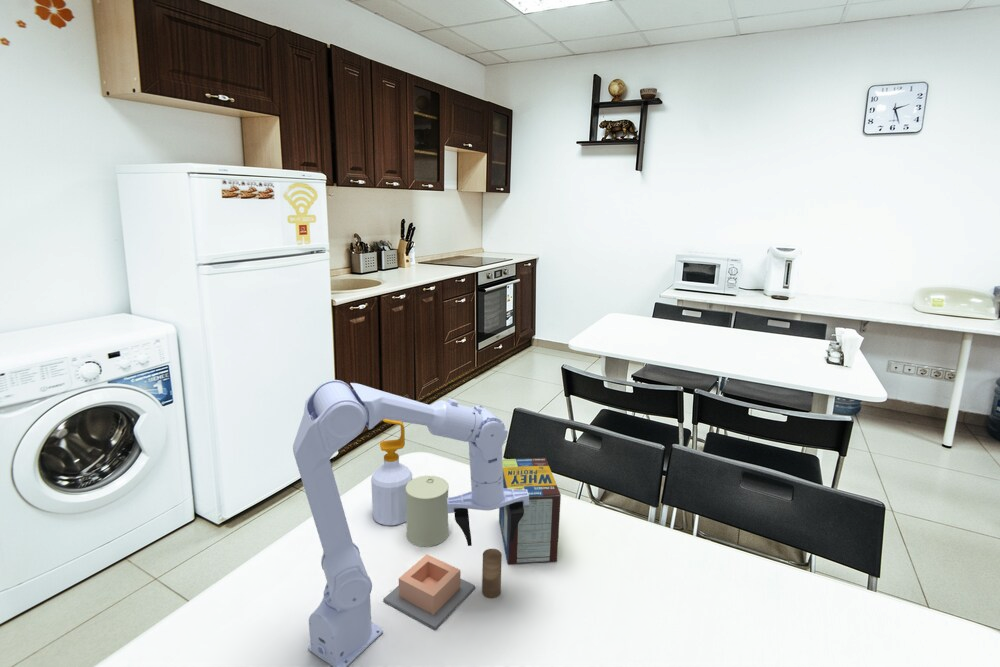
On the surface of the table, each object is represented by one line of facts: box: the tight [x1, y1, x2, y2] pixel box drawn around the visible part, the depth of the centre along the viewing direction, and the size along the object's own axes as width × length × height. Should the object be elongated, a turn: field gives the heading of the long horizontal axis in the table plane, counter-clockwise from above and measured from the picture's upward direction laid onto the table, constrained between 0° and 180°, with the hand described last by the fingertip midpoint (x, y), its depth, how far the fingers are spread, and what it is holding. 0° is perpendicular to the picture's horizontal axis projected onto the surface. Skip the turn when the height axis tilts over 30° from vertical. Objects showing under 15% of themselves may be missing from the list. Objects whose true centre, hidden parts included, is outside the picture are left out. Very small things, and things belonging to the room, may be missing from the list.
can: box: [405, 475, 450, 548], centre depth 115 cm, size 9×9×12 cm
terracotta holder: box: [382, 553, 476, 631], centre depth 99 cm, size 12×12×4 cm
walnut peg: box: [481, 548, 503, 599], centre depth 99 cm, size 4×4×8 cm
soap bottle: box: [370, 419, 413, 526], centre depth 120 cm, size 9×9×25 cm
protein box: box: [498, 457, 562, 565], centre depth 114 cm, size 10×15×16 cm
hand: (490, 540), depth 98 cm, fingers open, 7 cm apart
